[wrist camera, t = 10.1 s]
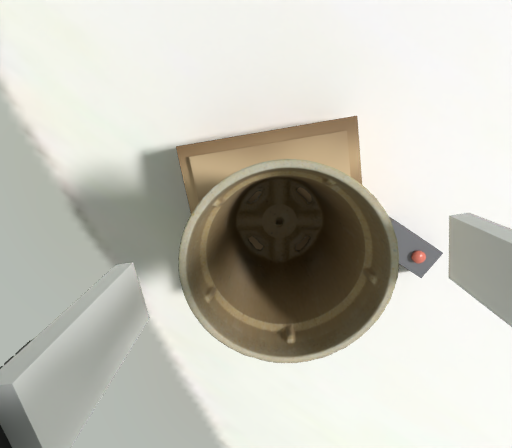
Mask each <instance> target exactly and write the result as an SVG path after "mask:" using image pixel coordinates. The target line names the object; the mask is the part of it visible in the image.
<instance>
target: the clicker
mask: <svg viewBox="0 0 512 448" xmlns="http://www.w3.org/2000/svg"><path fill="white" fill-rule="evenodd" d="M388 217H389V216H388ZM389 219H390V220H391V223H392V226H393V228H394V231H395V234H396V238H397V240H398V251H399V264H400V265H402V266H403V267H405V268H406V269H408V270H410V271H411V272H413V273H414V274H416V275H417V276H419V277H420V278H422V277H423V276H424V274H425V273H426V272H427V271H428V270H429V269H430V268H431V266H432V265H433V264H434V263H435V262H436V261H437V260H438V258H439V257H440V256H441V255H442V254H443V253H442V252H441V251H439V250H438V249H436V248H435V247H434V246H432V245H431V244H429V243H428V242H426V241H425V240H423V239H422V238H420V237H419V236H417V235H416V234H414V233H413V232H411V231H410V230H408V229H407V228H405V227H404V226H403V225H401V224H400V223H398V222H397V221H395V220H394V219H392V218H390V217H389Z"/></svg>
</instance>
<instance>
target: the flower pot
mask: <svg viewBox="0 0 512 448" xmlns="http://www.w3.org/2000/svg"><path fill="white" fill-rule="evenodd" d="M299 187H301V188H303V189H305V190H306V191H307V192H308V193H309V194H310V195H311V198H312V200H311V202H308V201H307V200H306V199H305V198H304V197H303V196H302V195H301V194H300V193H299V192H297V189H298V188H299ZM257 191H261V192H262V193H261V194H260V195H259V196H258V197H257V198H258V199H255V200H254V201H252V203H250V202H249V201H248V200H249V199H250V198H251V197H252V196H253V195H254V194H255V193H256V192H257ZM277 219H282V224H280V225H279V224H277V223H276V221H277ZM251 236H253V237H254V238H255V239H256V240H257V241H258V242H259V243H260V244H261V245H263V248H262V249H261V250H259V249H256V248H255V247H254V246H253V244H252V243H251V242H250V241H249V238H250V237H251ZM307 236H309V237H310V238H309V240H308V242H307V243H306V244H305V246H304V247H303V248H302V249H300V250H296V245H297V244H299V243H301V242H302V241H303V240H304V239H305V238H306V237H307ZM178 260H179V277H180V281H181V285H182V290H183V293H184V296H185V298H186V300H187V302H188V305H189V307H190V309H191V311H192V312H193V314H194V315H195V317H196V318H197V319H198V321H199V322H200V323H201V324H202V326H203V327H204V328H205V329H206V330H207V331H208V332H209V333H210V334H211V335H212V336H213V337H215V338H216V339H217V340H218V341H220V342H221V343H223V344H224V345H226V346H228V347H229V348H231V349H233V350H235V351H237V352H239V353H241V354H243V355H246V356H249V357H255V358H257V359H260V360H264V361H268V362H274V363H298V362H305V361H311V360H314V359H319V358H323V357H326V356H328V355H331V354H333V353H335V352H337V351H338V350H341V349H344V348H346V347H347V346H348V345H350V344H351V343H353V342H354V341H356V340H357V339H358V338H360V337H361V336H362V335H363V334H364V333H365V332H366V331H368V330H369V329H370V327H371V326H372V325H373V324H374V323H375V322H376V321H377V320H378V319H379V317H380V316H381V314H382V313H383V311H384V310H385V307H386V306H387V304H388V303H389V301H390V299H391V296H392V293H393V290H394V288H395V284H396V280H397V278H398V271H399V269H398V268H399V251H398V240H397V238H396V234H395V231H394V228H393V226H392V223H391V220H390V219H389V217H388V215H387V213H386V211H385V210H384V209H383V207H382V206H381V204H380V203H379V202H378V201H377V199H376V198H375V196H374V195H372V194H371V193H370V192H369V191H368V190H367V189H366V188H365V187H364V186H363V185H362V184H360V183H359V182H357V181H356V180H355V179H353V178H352V177H350V176H349V175H347V174H345V173H343V172H341V171H339V170H338V169H335V168H333V167H330V166H327V165H324V164H321V163H317V162H313V161H308V160H300V159H278V160H271V161H266V162H261V163H258V164H254V165H251V166H249V167H246V168H244V169H241V170H240V171H237V172H235V173H233V174H232V175H230V176H228V177H226V178H225V179H224V180H222V181H221V182H220V183H218V184H217V185H216V186H215V187H213V188H212V189H211V190H210V191H209V192H208V193H207V194H206V195H205V196H204V197H203V199H202V200H201V201H200V203H199V204H198V205H197V206H196V208H195V210H194V211H193V213H192V214H191V216H190V218H189V220H188V222H187V224H186V226H185V229H184V232H183V235H182V238H181V243H180V250H179V259H178Z"/></svg>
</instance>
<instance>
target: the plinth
mask: <svg viewBox="0 0 512 448" xmlns="http://www.w3.org/2000/svg"><path fill="white" fill-rule="evenodd" d="M176 150H177V154H178V158H179V163H180V167H181V172H182V176H183V180H184V185H185V189H186V194H187V198H188V202H189V207H190V211H191V214H192V213H193V211H194V210H195V208H196V206H197V205H198V204H199V203H200V201H201V200H202V199H203V197H204V196H205V195H206V194H207V193H208V192H209V191H210V190H211V189H212V188H213V187H215V186H216V185H217V184H218V183H220V182H221V181H222V180H224V179H225V178H226V177H228V176H230V175H232V174H233V173H235V172H237V171H240V170H241V169H244V168H246V167H249V166H251V165H254V164H258V163H261V162H266V161H271V160H278V159H300V160H308V161H313V162H317V163H321V164H324V165H327V166H330V167H333V168H335V169H338V170H339V171H341V172H343V173H345V174H347V175H349V176H350V177H352V178H353V179H355V180H356V181H357V182H359V183H360V184H362V177H361V163H360V149H359V135H358V120H357V116H353V117H347V118H341V119H335V120H329V121H323V122H317V123H312V124H306V125H300V126H294V127H288V128H282V129H276V130H271V131H265V132H259V133H253V134H247V135H241V136H235V137H230V138H224V139H218V140H212V141H206V142H200V143H194V144H188V145H183V146H177V147H176ZM297 192H299V193H300V194H301V195H302V196H303V197H304V198H305V199H306V200H307V201H308V202H311V200H312V198H311V195H310V194H309V193H308V192H307V191H306V190H305V189H303V188H301V187H299V188H298V189H297ZM261 193H262V192H261V191H257V192H256V193H255V194H254V195H253V196H252V197H251V198H250V199H249V200H248V201H249V202H250V203H252V201H254V200H255V199H258V198H257V197H258V196H259V195H260V194H261ZM276 223H277V224H279V225H280V224H282V219H277V221H276ZM309 238H310V237H309V236H307V237H306V238H305V239H304V240H303V241H302V242H301V243H299V244H297V245H296V250H300V249H302V248H303V247H304V246H305V244H306V243H307V242H308V240H309ZM249 241H250V242H251V243H252V244H253V246H254V247H255V248H256V249H259V250H261V249H262V248H263V245H261V244H260V243H259V242H258V241H257V240H256V239H255V238H254V237H253V236H251V237H250V238H249Z"/></svg>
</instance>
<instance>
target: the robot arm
mask: <svg viewBox="0 0 512 448" xmlns="http://www.w3.org/2000/svg"><path fill="white" fill-rule="evenodd" d="M449 279H451V280H452V281H453V282H455V283H456V284H457V285H458V286H460V287H461V288H462V289H464V290H465V291H466V292H467V293H469V294H470V295H471V296H473V297H474V298H475V299H476V300H478V301H479V302H480V303H482V304H483V305H484V306H485V307H487V308H488V309H489V310H491V311H492V312H493V313H494V314H496V315H497V316H498V317H500V318H501V319H502V320H503V321H505V322H506V323H507V324H508V325H510V326H511V327H512V229H510V228H507V227H505V226H502V225H499V224H497V223H494V222H492V221H489V220H487V219H484V218H481V217H479V216H476V215H474V214H471V213H464V214H458V215H451V216H449ZM149 318H150V317H149V314H148V311H147V307H146V304H145V300H144V297H143V294H142V290H141V287H140V284H139V280H138V277H137V274H136V270H135V267H134V264H133V262H131V263H124V264H118V265H115V266H114V267H113V268H112V269H111V270H110V271H108V272H107V273H106V274H105V275H104V276H103V277H102V278H101V279H100V280H98V282H96V283H95V284H94V285H93V286H92V287H91V288H90V289H88V290H87V291H86V292H85V293H84V294H83V295H82V296H81V297H80V298H79V299H77V300H76V301H75V302H74V303H73V304H72V305H71V306H70V307H69V308H67V309H66V310H65V311H64V312H63V313H62V314H61V315H60V316H59V317H57V318H56V319H55V320H54V321H53V322H52V323H51V324H50V325H49V326H48V327H46V328H45V329H44V330H43V331H42V332H41V333H40V334H39V335H38V336H36V337H35V338H34V339H33V340H31V341H29V342H28V343H27V344H26V345H25V346H23V347H22V348H21V349H20V350H19V351H18V352H17V353H16V355H15V356H12V357H11V358H10V359H9V360H8V361H7V362H5V364H4V366H1V367H0V448H71V447H72V445H73V444H74V442H75V440H76V439H77V437H78V435H79V434H80V432H81V430H82V429H83V427H84V425H85V424H86V422H87V420H88V419H89V417H90V416H91V414H92V412H93V410H94V409H95V407H96V406H97V404H98V402H99V401H100V399H101V397H102V395H103V394H104V392H105V391H106V389H107V388H108V386H109V384H110V383H111V381H112V379H113V378H114V376H115V374H116V373H117V371H118V369H119V368H120V366H121V365H122V363H123V361H124V360H125V358H126V356H127V355H128V353H129V351H130V350H131V348H132V346H133V345H134V343H135V341H136V340H137V338H138V336H139V335H140V333H141V331H142V330H143V328H144V327H145V325H146V323H147V322H148V320H149Z"/></svg>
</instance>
